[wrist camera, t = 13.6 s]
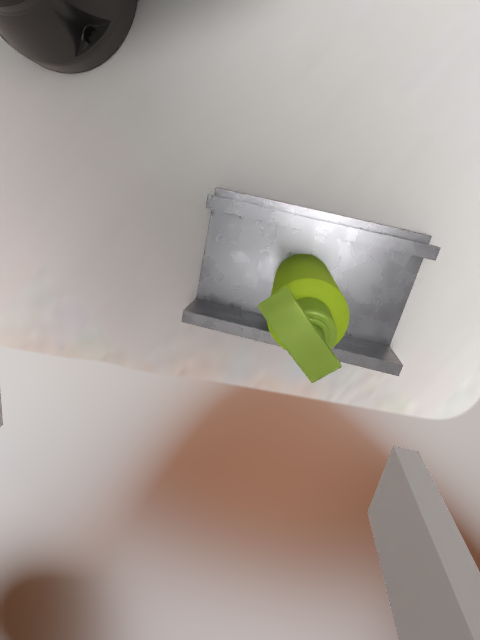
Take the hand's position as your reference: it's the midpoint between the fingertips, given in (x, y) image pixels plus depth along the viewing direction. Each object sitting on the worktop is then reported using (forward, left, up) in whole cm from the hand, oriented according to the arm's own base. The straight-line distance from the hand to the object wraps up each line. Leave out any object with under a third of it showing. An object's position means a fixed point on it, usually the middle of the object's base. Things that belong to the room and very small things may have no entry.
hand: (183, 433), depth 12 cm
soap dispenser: (-1, +4, -28) cm, 29 cm away
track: (-1, +5, -29) cm, 30 cm away
